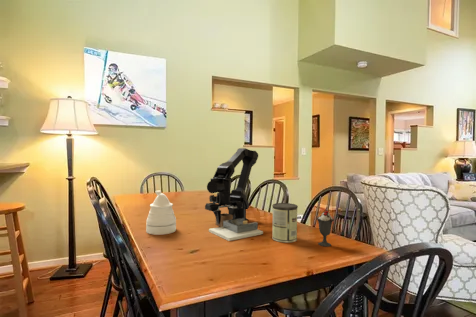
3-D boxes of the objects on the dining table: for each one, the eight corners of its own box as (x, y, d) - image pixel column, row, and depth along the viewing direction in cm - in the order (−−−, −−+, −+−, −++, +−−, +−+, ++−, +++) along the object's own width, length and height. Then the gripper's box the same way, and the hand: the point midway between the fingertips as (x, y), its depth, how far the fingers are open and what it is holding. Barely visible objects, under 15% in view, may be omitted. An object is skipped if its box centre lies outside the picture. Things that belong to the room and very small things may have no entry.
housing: (242, 224, 133) (243, 217, 133) (257, 229, 124) (257, 222, 124) (223, 227, 127) (223, 220, 126) (237, 233, 118) (237, 226, 118)
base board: (241, 226, 134) (241, 217, 134) (262, 234, 122) (263, 224, 121) (208, 231, 124) (208, 222, 124) (228, 241, 111) (229, 230, 111)
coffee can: (276, 234, 122) (276, 202, 122) (299, 237, 118) (300, 204, 117) (268, 240, 113) (269, 205, 112) (293, 244, 108) (294, 208, 108)
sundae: (324, 248, 104) (325, 208, 104) (312, 243, 110) (313, 205, 110) (337, 246, 107) (338, 207, 107) (324, 241, 113) (325, 204, 113)
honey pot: (160, 236, 116) (160, 193, 115) (139, 231, 122) (140, 190, 122) (181, 229, 127) (182, 190, 126) (162, 225, 133) (162, 188, 133)
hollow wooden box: (225, 222, 140) (225, 213, 140) (232, 225, 135) (232, 215, 135) (215, 224, 136) (215, 214, 136) (222, 227, 132) (222, 216, 132)
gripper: (231, 188, 148) (230, 217, 148) (199, 190, 137) (199, 222, 137) (243, 190, 139) (243, 221, 139) (211, 193, 128) (210, 227, 128)
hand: (224, 222), depth 136 cm, fingers closed on hollow wooden box, 6 cm apart
